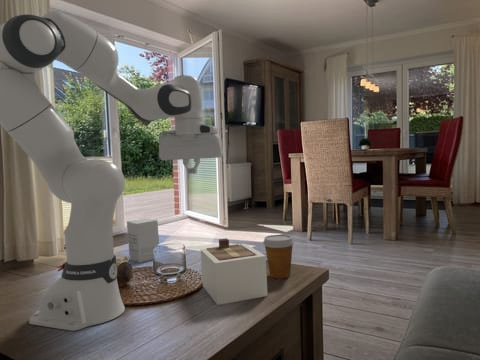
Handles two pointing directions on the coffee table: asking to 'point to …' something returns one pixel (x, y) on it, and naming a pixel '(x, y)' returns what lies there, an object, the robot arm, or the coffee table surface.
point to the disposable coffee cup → (279, 255)
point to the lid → (229, 251)
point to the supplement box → (142, 239)
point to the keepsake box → (234, 276)
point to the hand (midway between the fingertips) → (192, 173)
